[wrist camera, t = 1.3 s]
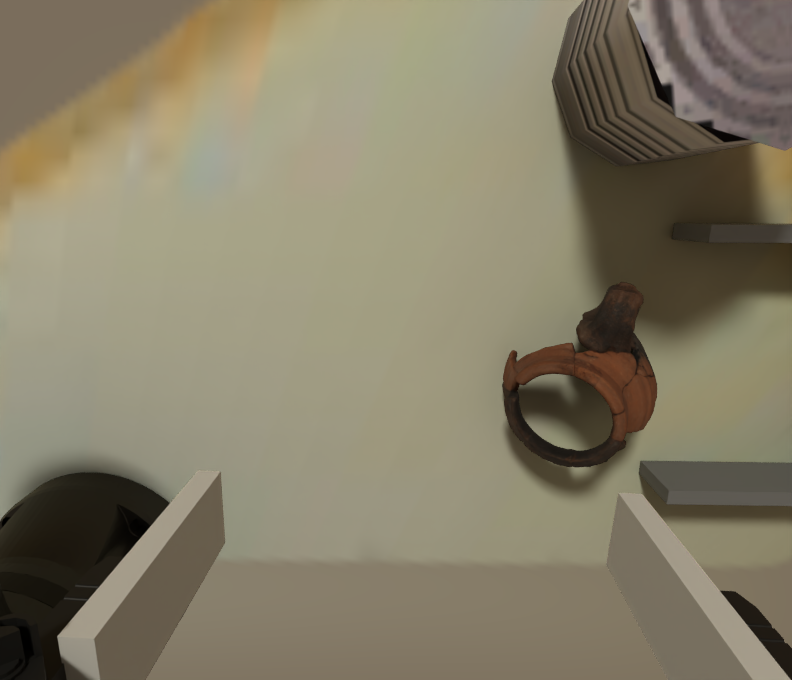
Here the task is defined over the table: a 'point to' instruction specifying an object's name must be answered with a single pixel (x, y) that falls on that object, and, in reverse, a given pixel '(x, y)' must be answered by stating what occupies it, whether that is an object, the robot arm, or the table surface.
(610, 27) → the can
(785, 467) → the box
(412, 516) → the table surface
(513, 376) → the brown ring with knob
